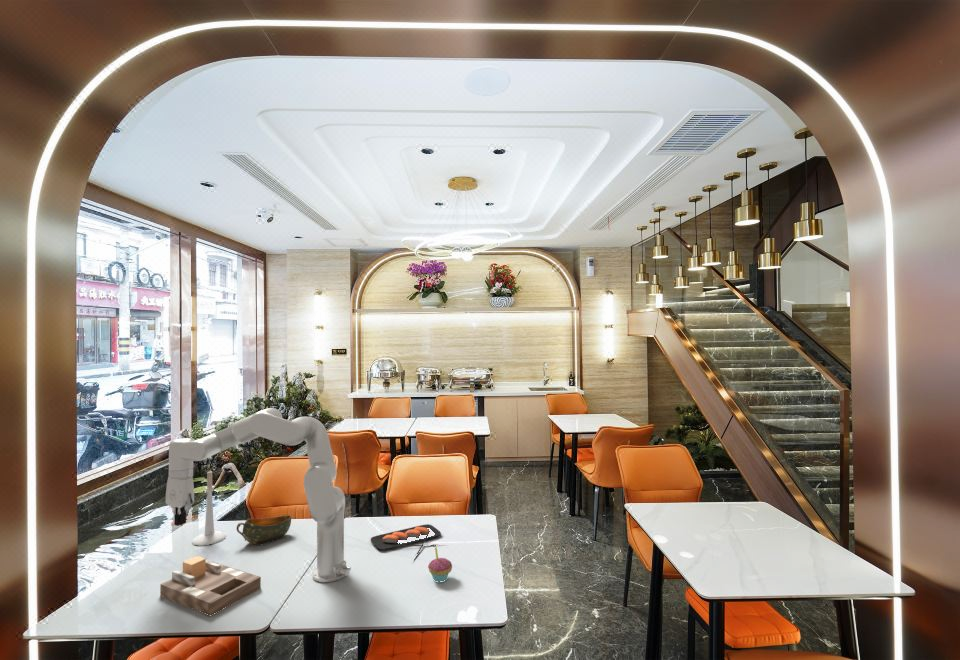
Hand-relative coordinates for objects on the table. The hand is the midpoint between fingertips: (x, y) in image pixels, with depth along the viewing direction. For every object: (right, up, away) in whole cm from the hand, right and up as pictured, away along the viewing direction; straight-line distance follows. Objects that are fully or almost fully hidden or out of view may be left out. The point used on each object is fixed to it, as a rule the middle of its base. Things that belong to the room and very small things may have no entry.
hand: (180, 524), depth 166 cm
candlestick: (-10, -22, +35) cm, 42 cm away
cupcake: (+95, -20, -2) cm, 97 cm away
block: (+8, -16, -4) cm, 18 cm away
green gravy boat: (+15, -22, +33) cm, 43 cm away
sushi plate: (+81, -21, +26) cm, 88 cm away
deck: (+16, -20, -8) cm, 27 cm away
